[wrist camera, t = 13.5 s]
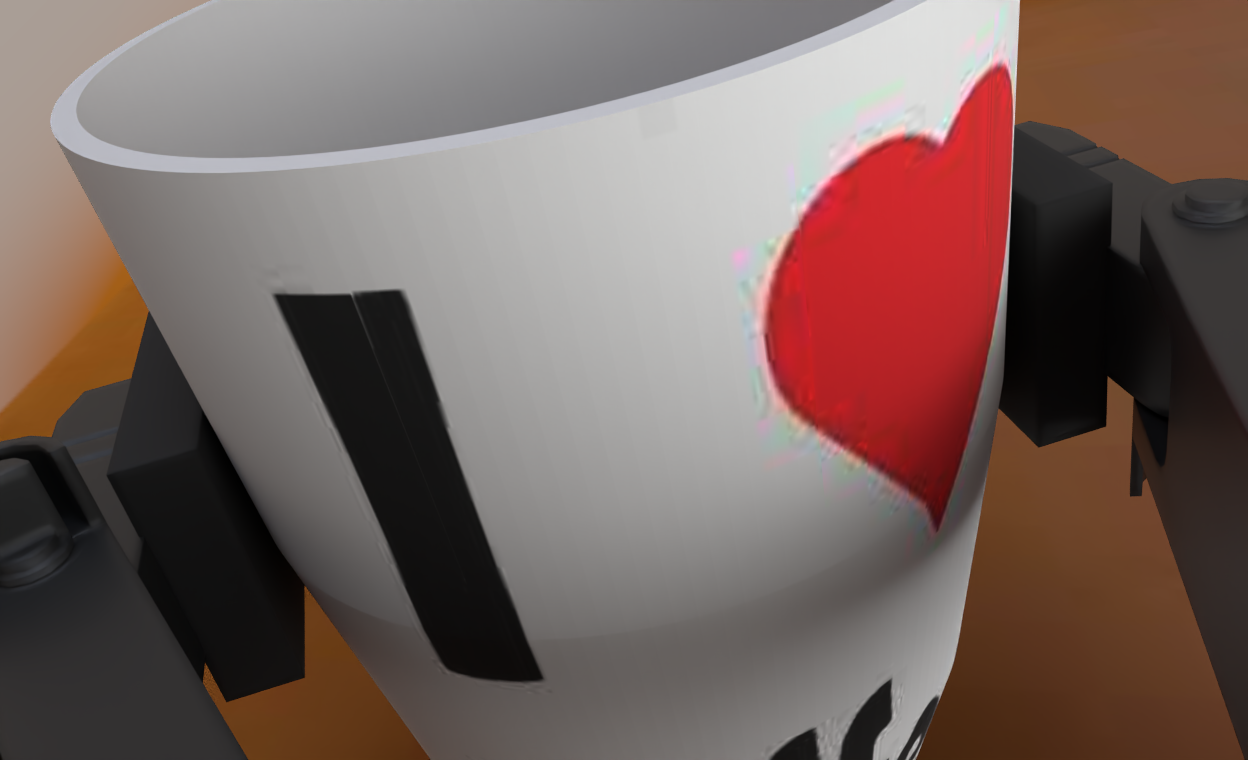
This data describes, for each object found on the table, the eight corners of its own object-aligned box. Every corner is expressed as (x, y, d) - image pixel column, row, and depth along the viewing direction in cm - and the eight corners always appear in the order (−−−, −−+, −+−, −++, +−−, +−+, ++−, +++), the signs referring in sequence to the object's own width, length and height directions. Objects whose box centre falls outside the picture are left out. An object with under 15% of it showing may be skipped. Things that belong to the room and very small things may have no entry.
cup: (445, 1196, 11) (-63, 300, 6) (379, 645, 18) (110, 2, 13) (1187, 904, 12) (1282, -76, 7) (860, 486, 19) (788, -171, 14)
